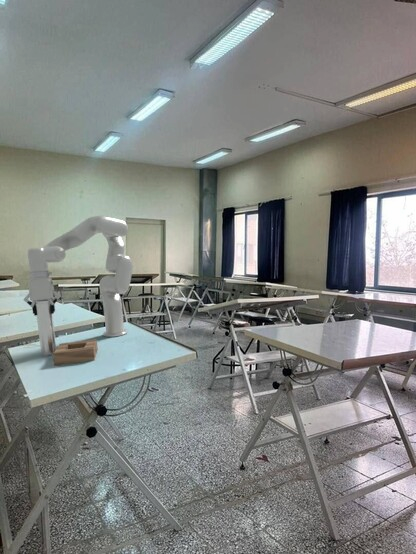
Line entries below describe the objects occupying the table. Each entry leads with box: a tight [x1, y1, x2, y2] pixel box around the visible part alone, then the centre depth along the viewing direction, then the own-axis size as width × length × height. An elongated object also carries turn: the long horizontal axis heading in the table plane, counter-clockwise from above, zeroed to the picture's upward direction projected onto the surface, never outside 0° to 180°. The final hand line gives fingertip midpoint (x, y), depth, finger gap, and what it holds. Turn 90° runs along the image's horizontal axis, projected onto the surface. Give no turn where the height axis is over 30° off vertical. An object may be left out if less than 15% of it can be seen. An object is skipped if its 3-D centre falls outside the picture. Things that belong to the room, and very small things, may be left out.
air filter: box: [35, 300, 57, 356], centre depth 172 cm, size 6×6×25 cm
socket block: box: [52, 338, 99, 366], centre depth 164 cm, size 16×16×5 cm
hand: (44, 313), depth 171 cm, fingers closed on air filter, 6 cm apart
